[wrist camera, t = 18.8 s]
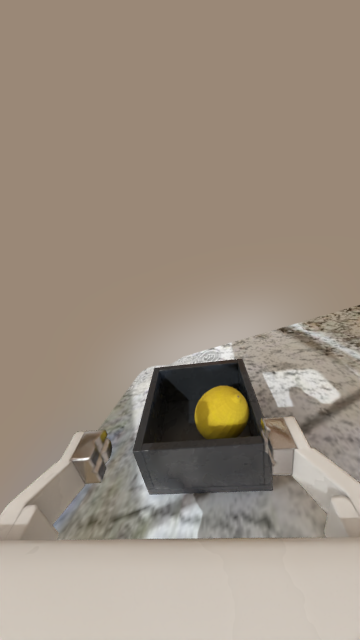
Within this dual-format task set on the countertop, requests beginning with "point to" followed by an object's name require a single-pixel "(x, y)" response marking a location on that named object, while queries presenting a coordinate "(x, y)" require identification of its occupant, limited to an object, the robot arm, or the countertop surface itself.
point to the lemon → (221, 413)
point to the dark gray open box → (198, 434)
